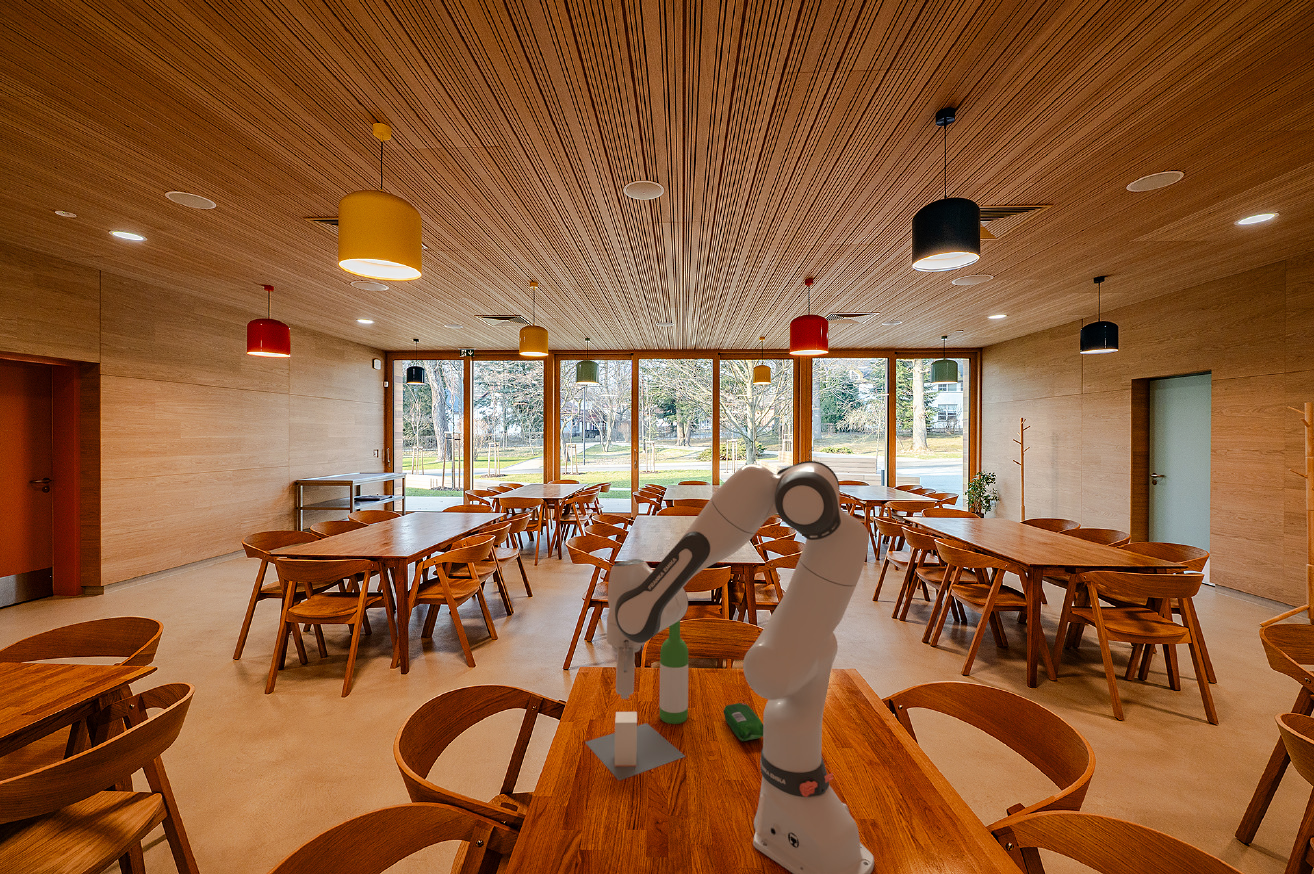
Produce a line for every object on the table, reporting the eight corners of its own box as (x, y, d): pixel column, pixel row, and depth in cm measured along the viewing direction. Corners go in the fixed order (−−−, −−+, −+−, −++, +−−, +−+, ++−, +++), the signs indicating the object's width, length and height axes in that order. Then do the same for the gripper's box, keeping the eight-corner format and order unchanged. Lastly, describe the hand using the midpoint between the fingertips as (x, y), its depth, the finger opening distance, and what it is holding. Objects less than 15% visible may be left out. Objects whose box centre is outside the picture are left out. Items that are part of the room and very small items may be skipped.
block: (636, 766, 123) (636, 722, 123) (614, 766, 122) (615, 722, 123) (636, 754, 128) (636, 711, 128) (615, 754, 127) (616, 711, 128)
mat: (685, 758, 127) (685, 756, 127) (618, 783, 117) (618, 780, 117) (646, 725, 142) (646, 723, 142) (584, 744, 133) (584, 742, 133)
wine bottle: (656, 724, 143) (657, 611, 143) (662, 710, 150) (664, 603, 151) (684, 728, 141) (686, 614, 142) (690, 714, 148) (691, 605, 149)
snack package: (741, 750, 131) (742, 729, 131) (720, 718, 146) (720, 699, 147) (768, 747, 133) (769, 726, 133) (744, 716, 148) (745, 697, 148)
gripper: (641, 651, 108) (639, 720, 107) (640, 618, 128) (639, 676, 128) (610, 651, 107) (608, 720, 107) (614, 617, 128) (612, 675, 128)
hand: (625, 695), depth 118 cm, fingers closed
